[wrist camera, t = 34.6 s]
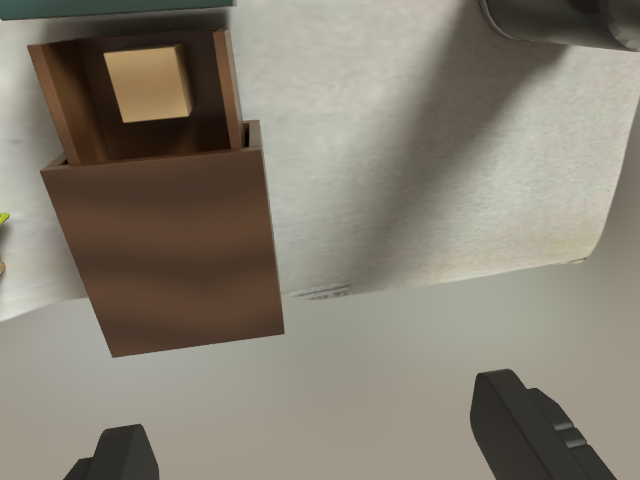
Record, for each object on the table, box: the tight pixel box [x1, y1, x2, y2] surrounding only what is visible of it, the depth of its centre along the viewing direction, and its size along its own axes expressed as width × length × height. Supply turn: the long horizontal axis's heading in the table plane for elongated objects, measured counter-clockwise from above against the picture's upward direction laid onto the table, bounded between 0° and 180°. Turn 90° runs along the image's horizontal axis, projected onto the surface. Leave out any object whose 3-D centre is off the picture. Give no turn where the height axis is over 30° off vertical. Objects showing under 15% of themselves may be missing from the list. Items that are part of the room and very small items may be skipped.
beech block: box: [104, 43, 196, 123], centre depth 32 cm, size 5×5×5 cm
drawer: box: [0, 0, 247, 165], centre depth 31 cm, size 22×14×8 cm, turn 3°
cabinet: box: [40, 120, 285, 358], centre depth 37 cm, size 17×15×9 cm
